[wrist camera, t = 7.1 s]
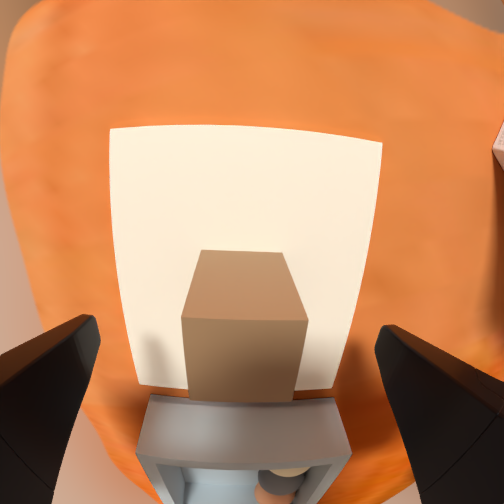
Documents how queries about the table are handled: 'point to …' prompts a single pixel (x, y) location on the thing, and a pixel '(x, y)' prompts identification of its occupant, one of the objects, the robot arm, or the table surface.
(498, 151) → the light bulb box
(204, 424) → the box
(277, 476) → the ball
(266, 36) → the table surface
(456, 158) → the table surface
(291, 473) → the ball
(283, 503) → the ball
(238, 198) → the lid
